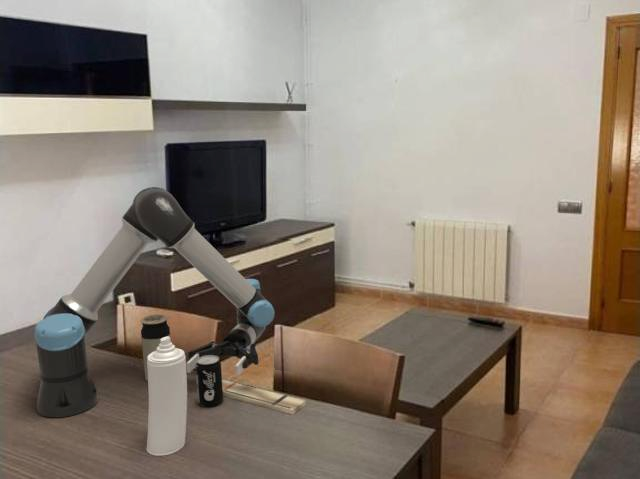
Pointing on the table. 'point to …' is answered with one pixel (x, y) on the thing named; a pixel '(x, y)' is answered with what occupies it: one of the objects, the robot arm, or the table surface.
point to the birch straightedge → (262, 397)
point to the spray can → (166, 399)
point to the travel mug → (153, 335)
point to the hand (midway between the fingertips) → (212, 369)
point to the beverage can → (209, 380)
